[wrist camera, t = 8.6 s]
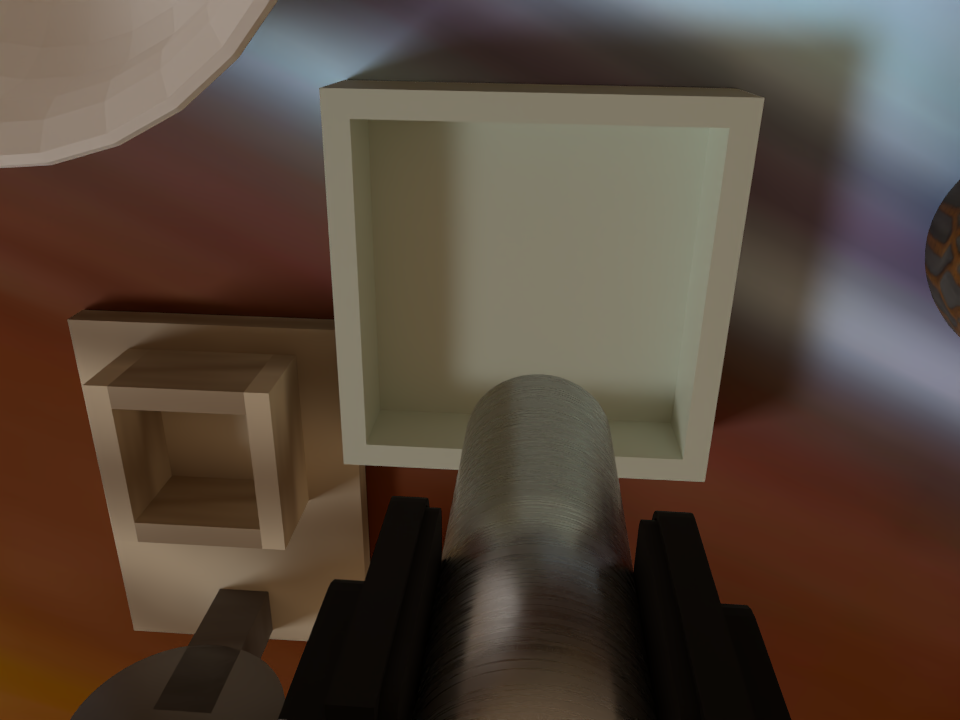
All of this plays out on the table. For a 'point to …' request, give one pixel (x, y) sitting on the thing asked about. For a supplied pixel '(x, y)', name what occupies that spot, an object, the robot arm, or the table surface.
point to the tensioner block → (218, 498)
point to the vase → (945, 258)
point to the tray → (534, 257)
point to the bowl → (108, 68)
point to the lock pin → (536, 569)
